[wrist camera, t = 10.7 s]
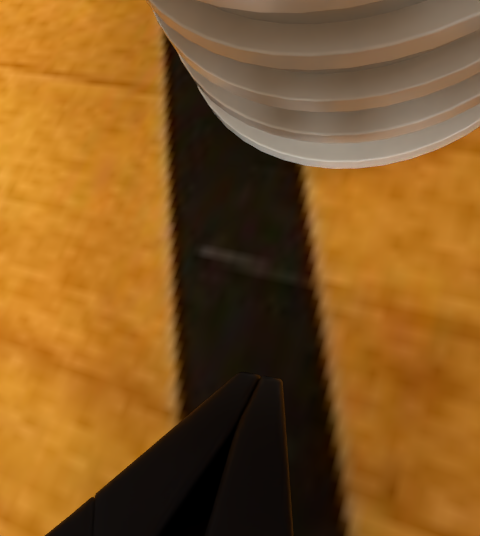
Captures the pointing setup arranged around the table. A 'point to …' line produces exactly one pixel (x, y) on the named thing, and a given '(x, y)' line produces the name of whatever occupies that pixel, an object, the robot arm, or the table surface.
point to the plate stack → (333, 74)
